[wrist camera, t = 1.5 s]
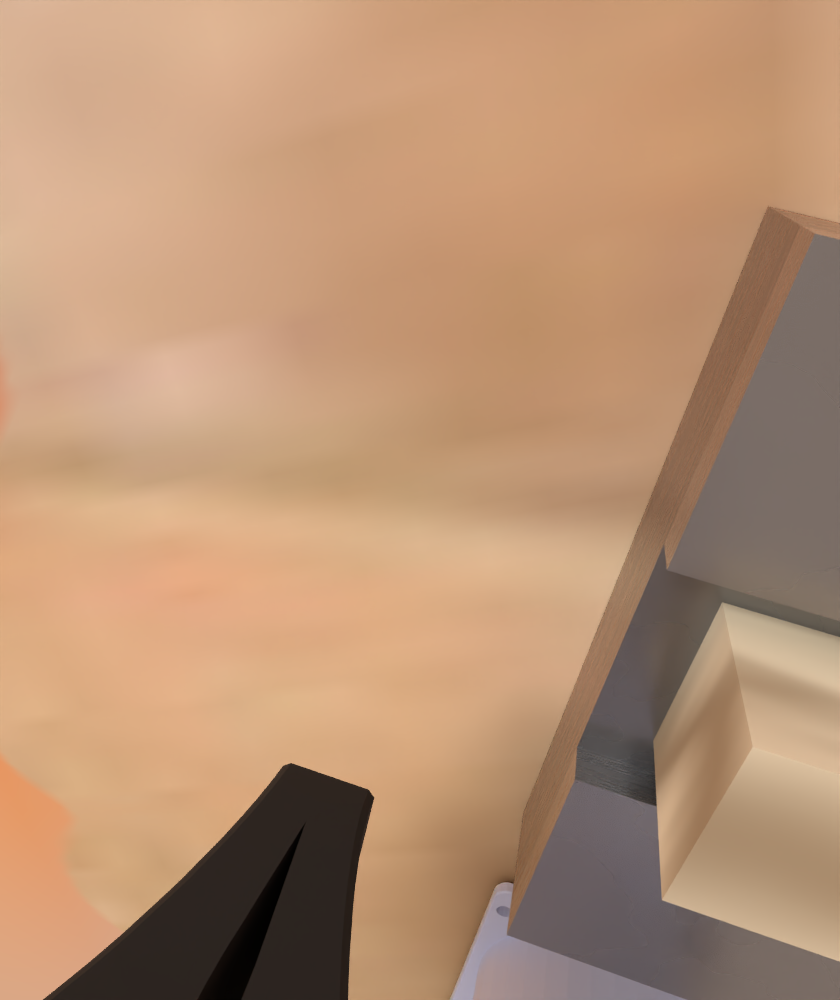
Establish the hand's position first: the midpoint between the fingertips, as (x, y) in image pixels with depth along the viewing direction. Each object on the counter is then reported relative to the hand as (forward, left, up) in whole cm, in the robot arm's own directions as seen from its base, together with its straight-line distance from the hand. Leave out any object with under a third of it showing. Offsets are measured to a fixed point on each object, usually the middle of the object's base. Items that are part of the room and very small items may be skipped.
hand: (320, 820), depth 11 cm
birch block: (0, -8, -6) cm, 10 cm away
